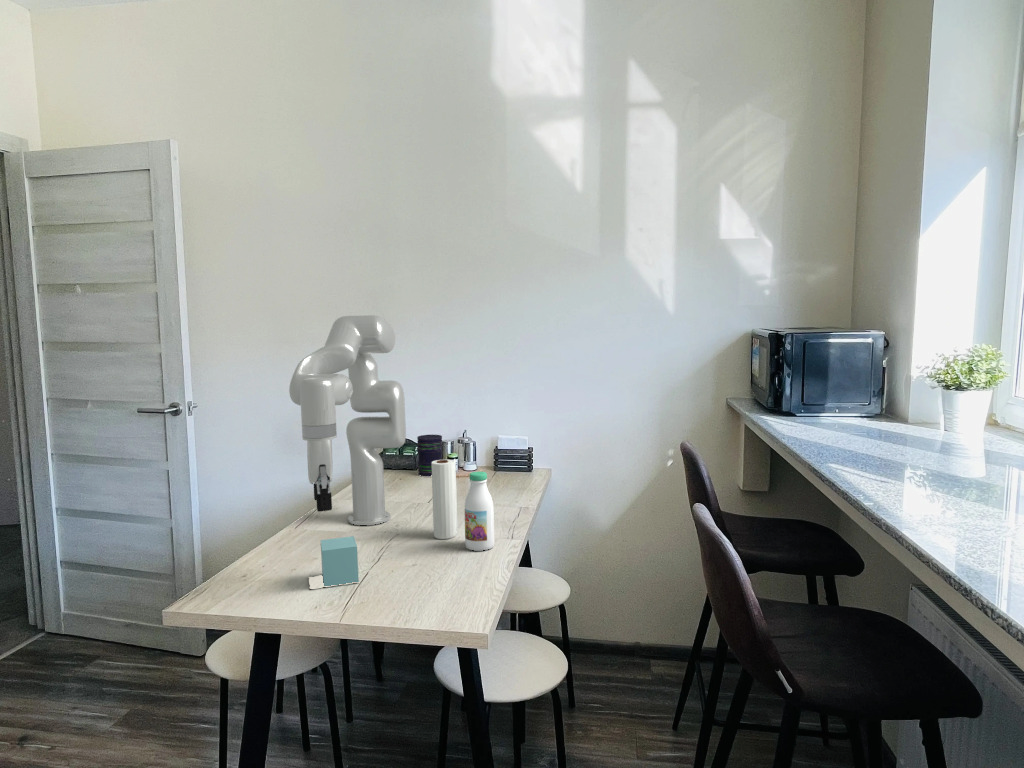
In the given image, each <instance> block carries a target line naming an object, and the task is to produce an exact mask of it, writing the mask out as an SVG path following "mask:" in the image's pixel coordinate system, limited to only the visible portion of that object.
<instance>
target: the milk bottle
mask: <svg viewBox="0 0 1024 768" xmlns="http://www.w3.org/2000/svg"><path fill="white" fill-rule="evenodd" d="M469 482H470V485H469V490H468V492H467V495H466V496H465V497H466V498H465V502H464V539H465V542H464V543H465V545H464V546H465V547H466V549H467V550H469V551H472V550H474V551H473V552H482V551H483V550H485V551H489V550H491V549H493V548H494V547H493V546H495V518H494V517H495V515H494V511H495V509H494V501H493V498H492V495H491V493H490V492H489V489H488V486H487V482H488V474H487V472H485V471H473V472H472V471H471V472H470V473H469ZM488 549H489V550H488Z"/></svg>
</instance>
